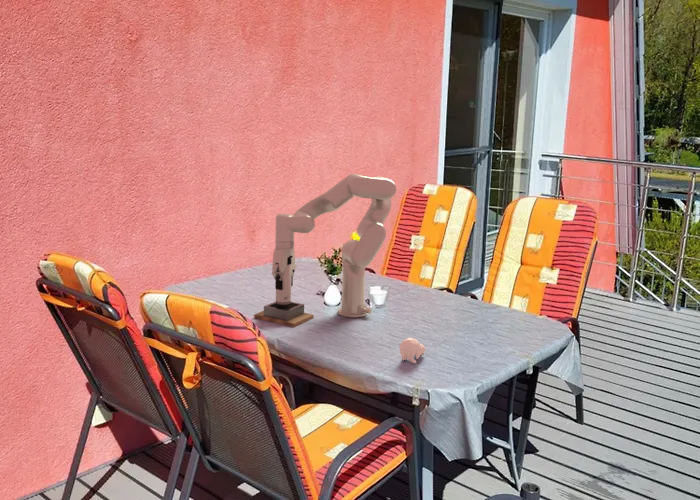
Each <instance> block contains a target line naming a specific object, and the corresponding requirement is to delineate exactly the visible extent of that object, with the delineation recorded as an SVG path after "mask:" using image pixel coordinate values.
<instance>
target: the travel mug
mask: <svg viewBox="0 0 700 500" xmlns="http://www.w3.org/2000/svg"><path fill="white" fill-rule="evenodd" d="M292 257H293V256H290V257H288V258H287V267H286V272H285V273H283V277H282V280H283V289H282V290H278V289H276V288H275V302H276V303H277V304H280V305H287V304H290V303H291V302H292V286H291V273H292V262H291V261H292V260H291V258H292ZM278 272H280V271H279V270H278ZM278 275H279V277H280V274H278Z"/></svg>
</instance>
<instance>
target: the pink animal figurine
mask: <svg viewBox="0 0 700 500" xmlns="http://www.w3.org/2000/svg"><path fill="white" fill-rule="evenodd" d="M425 352H426V346H424V344H422V343H420V341H419V340H417V339H416V338H413V337H408V338H406V339H404V340H403V341H402V342H401V344H400V346H399V353H400V357H401V360H402V361H404V360H406V361H407V360H408V361H409V362H410V363H411V362H412V363H411V364H414V363H415V362H417V363H418V361H416V360H419V358H420V357H421V356H420V355H423V356H424V355H426V353H425ZM414 357H415V358H416V359H415V358H414Z"/></svg>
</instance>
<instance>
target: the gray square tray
mask: <svg viewBox="0 0 700 500" xmlns="http://www.w3.org/2000/svg"><path fill="white" fill-rule="evenodd" d="M263 311H264V316H267V317H272V318H276V319H281V320H285V321H289V320H291V319H293V318H295V317H298V316H300V315H302V314H304V313H305V304H304V303H299V302H295V301H291V303H290V304H287V305H280V304H277V303H276V301H273V302H270V303H268V304H266V305H263Z"/></svg>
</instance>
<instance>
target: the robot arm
mask: <svg viewBox="0 0 700 500" xmlns="http://www.w3.org/2000/svg"><path fill="white" fill-rule="evenodd" d="M396 194H397V185H396V183H395V182H394V181H393V180H392V179H389V178H386V177H384V176H379V175H377V176H373V177H370V176H363V175H360V174H357V173H350V174H348V175H347V176H345V177H343V178H342V179H341V180H340V181H339V182H338V183H336V184H335V185H334V186H332V187H331V188H329V189H328V190H327V191H326V192H324V193H322V194H320V195H319V196H317V197H315V198H313V199H312V200H310V201H308V202H307V203H305V204H304V205H302V206H301V207H299V209H297V210H296V211H295V212H294V213H293V214H291V213H279V214H277V215H276V217H275V240H274V241H275V247H274V250H273V256H272V264H271V265H272V266H271V267H272V268H271V275H272V277H273V278H274V280H275V284H274V287H275V290H276V289H278V290H282V289H283V280H282V277H283V273H285V272H286V267H287V258H288V257H290V256H293V257H292V258H291V260H292V261H291V262H292V273H291V287H293V284H294V283H293V281H294V279H293V278H294V276H295V275H294V274H295V271H296V268H297V264H296V252H295V233H299V234H308V233H311V232H312V231H313V230H314V229H315V226H316V223H315V219H317V218H318V217H320V216H322V215H324V214H326V213H332V212H335V211H338V210H340V208H342V207H343V206H345V205H346V204H347V203H348V202H350V201H351V200H352V199H354V198H355V197H358V198H361V199H369V200H371V202H370V204H369V206H368V209H367V211H366V212H365V214H364V216H363V217H362V218H361V221H360V222H359V224H358V226H357V229H356V233H357V236H358V237H359V240H357V239H351V240H348V241H346V242H345V243H344V245H342V249H341V262H342V278H341V280H342V283H341V286H342V287H341V307H340V308H338V309H337V314H338V315H339V316H341V317H345V318H362V317H365V316H367V315H368V314H370V315H371V313H372V307H367V303H365V288H366V287H365V285H366V267H368V266H369V265H370V264H371V263H372V261H374V259H375V257H376V255H377V254H378V252H379V251H380V250H381V248H382V246H383V244H384V242H385V240H386V237H387V229H386V227H385V226H384V223H385V222H386V220H387V218H388V216H389V214H390V212H391V209H392V199H393V198H394V196H395V195H396ZM278 270H279V271H280V272H278ZM278 274H280V277H279V275H278Z"/></svg>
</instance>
